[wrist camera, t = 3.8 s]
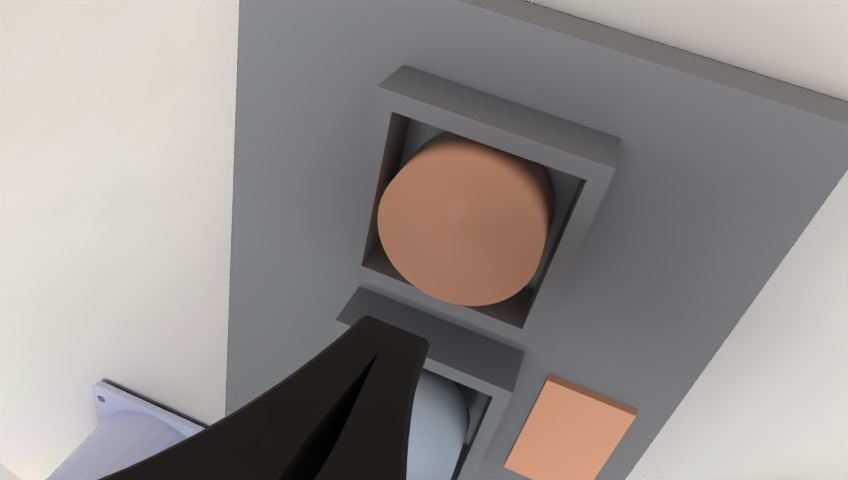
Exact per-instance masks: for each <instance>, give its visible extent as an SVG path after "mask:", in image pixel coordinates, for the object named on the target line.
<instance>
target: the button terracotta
mask: <svg viewBox="0 0 848 480" xmlns="http://www.w3.org/2000/svg"><path fill="white" fill-rule="evenodd" d="M553 213H554V199H553V192H552V188H551V185H550V182H549V180H548V177H547V175H546V173H545V171H544V170H543V168H542V167H541V165H540V164H539V163H537V162H534V161H531V160H528V159H525V158H523V157H520V156H517V155H514V154H511V153H508V152H506V151H503V150H500V149H497V148H494V147H491V146H488V145H486V144H483V143H480V142H477V141H474V140H471V139H469V138H466V137H463V136H460V135H457V134H454V133H452V132H449V131H447V132H444V133H441V134H439V135H437V136H435V137H433V138H432V139H430V140H428V141H427V142H426V143H425V144H423V145H422V146H421V147H420V148H419V149H418V150H417V151H416V153H415V154H414V155H413V156H412V157H411V159H410V160H409V161H408V162H407V163H406V165H405V166H404V167H403V168H402V169H401V170H400V172H399V173H398V174H397V175H396V176H395V178H394V179H393V180H392V181H391V182H390V184H389V185H388V187H387V188H386V190H385V192H384V194H383V196H382V198H381V201H380V205H379V209H378V231H379V236H380V240H381V243H382V246H383V248H384V250H385V253H386V254H387V256H388V258H389V260H390V261H391V263H392V264H393V265H394V267H395V268H396V270H397V271H398V272H399V273H400V274H401V275H402V276H403V277H404V278H405V279H406V280H407V281H408V282H410V283H411V284H412V285H413V286H415V287H416V288H418V289H419V290H421V291H422V292H424V293H426V294H428V295H430V296H432V297H434V298H436V299H439V300H442V301H445V302H448V303H452V304H457V305H464V306H482V305H489V304H493V303H497V302H500V301H503V300H505V299H507V298H509V297H511V296H513V295H515V294H516V293H517V292H519V291H520V290H521V289H522V288H523V287H524V286H525V285H526V284H527V283H528V282H529V281H530V279H531V278H532V277H533V275H534V273H535V271H536V269H537V267H538V264H539V261H540V258H541V255H542V252H543V249H544V245H545V242H546V239H547V236H548V233H549V229H550V226H551V223H552V219H553Z"/></svg>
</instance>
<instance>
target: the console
mask: <svg viewBox="0 0 848 480" xmlns="http://www.w3.org/2000/svg"><path fill="white" fill-rule="evenodd" d="M447 131H449V132H452V133H454V134H457V135H460V136H463V137H466V138H469V139H471V140H474V141H477V142H480V143H483V144H486V145H488V146H491V147H494V148H497V149H500V150H503V151H506V152H508V153H511V154H514V155H517V156H520V157H523V158H525V159H528V160H531V161H534V162H537V163H539V164H540V165H541V167H542V168H543V170H544V171H545V173H546V175H547V177H548V180H549V182H550V185H551V188H552V192H553V199H554V213H553V219H552V223H551V226H550V229H549V233H548V236H547V239H546V242H545V245H544V249H543V252H542V255H541V258H540V261H539V264H538V267H537V269H536V271H535V273H534V275H533V277H532V278H531V279H530V281H529V282H528V283H527V284H526V285H525V286H524V287H523V288H522V289H521V290H520V291H519V292H517V293H516V294H515V295H513V296H511V297H509V298H507V299H505V300H503V301H500V302H497V303H493V304H489V305H482V306H464V305H457V304H452V303H448V302H445V301H442V300H439V299H436V298H434V297H432V296H430V295H428V294H426V293H424V292H422V291H421V290H419V289H418V288H416V287H415V286H413V285H412V284H411V283H410V282H408V281H407V280H406V279H405V278H404V277H403V276H402V275H401V274H400V273H399V272H398V271H397V270H396V268H395V267H394V265H393V264H392V263H391V261H390V260H389V258H388V256H387V254H386V253H385V250H384V248H383V246H382V243H381V240H380V236H379V231H378V209H379V205H380V201H381V198H382V196H383V194H384V192H385V190H386V188H387V187H388V185H389V184H390V182H391V181H392V180H393V179H394V178H395V176H396V175H397V174H398V173H399V172H400V170H401V169H402V168H403V167H404V166H405V165H406V163H407V162H408V161H409V160H410V159H411V157H412V156H413V155H414V154H415V153H416V151H417V150H418V149H419V148H420V147H421V146H422V145H423V144H425V143H426V142H427V141H428V140H430V139H432V138H433V137H435V136H437V135H439V134H441V133H444V132H447ZM847 170H848V102H846V101H843V100H840V99H837V98H833V97H830V96H827V95H824V94H821V93H817V92H814V91H811V90H808V89H805V88H802V87H798V86H795V85H792V84H789V83H786V82H782V81H779V80H776V79H773V78H770V77H766V76H763V75H760V74H757V73H754V72H750V71H747V70H744V69H741V68H738V67H734V66H731V65H728V64H725V63H722V62H718V61H715V60H712V59H709V58H706V57H703V56H699V55H696V54H693V53H690V52H687V51H683V50H680V49H677V48H674V47H671V46H667V45H664V44H661V43H658V42H655V41H651V40H648V39H645V38H642V37H639V36H635V35H632V34H629V33H626V32H623V31H620V30H616V29H613V28H610V27H607V26H604V25H600V24H597V23H594V22H591V21H588V20H584V19H581V18H578V17H575V16H572V15H568V14H565V13H562V12H559V11H556V10H552V9H549V8H546V7H543V6H540V5H536V4H533V3H530V2H527V1H524V0H240V1H239V30H238V60H237V89H236V118H235V147H234V176H233V206H232V235H231V264H230V293H229V322H228V351H227V381H226V410H225V417H226V416H228V415H230V414H231V413H233V412H235V411H236V410H238V409H240V408H241V407H243V406H245V405H246V404H248V403H249V402H251V401H252V400H254V399H255V398H257V397H258V396H260V395H261V394H263V393H264V392H266V391H267V390H269V389H270V388H272V387H274V386H275V385H277V384H278V383H280V382H281V381H282V380H284V379H285V378H287V377H288V376H289V375H291V374H292V373H293V372H295V371H296V370H298V369H299V368H300V367H302V366H303V365H304V364H306V363H307V362H308V361H310V360H311V359H312V358H314V357H315V356H316V355H318V354H319V353H320V352H321V351H323V350H324V349H325V348H326V347H328V346H329V345H330V344H331V343H333V342H334V341H335V340H336V339H337V338H339V337H340V336H341V335H342V334H343V333H344V332H345V331H347V330H348V329H349V328H350V327H351V326H352V325H353V324H354V323H355V322H357V321H358V320H359V319H360V318H361V317H363V316H366V315H369V316H371V317H374V318H376V319H379V320H381V321H384V322H386V323H388V324H391V325H393V326H396V327H398V328H401V329H403V330H406V331H408V332H411V333H413V334H416V335H418V336H420V337H423V338H425V339H426V340H427V341H428V343H429V345H430V347H429V350H428V353H427V356H426V360H425V363H424V366H423V368H424V369H427V370H429V371H432V372H434V373H436V374H439V375H441V376H444V377H446V378H448V379H450V380H451V381H452V382H453V383H454V384H455V386H456V387H457V388H458V389H459V390H460V392H461V393H462V395H463V397H464V398H465V400H466V402H467V405H468V408H469V412H470V425H469V428H468V431H467V434H466V437H465V440H464V443H463V446H462V449H461V452H460V454H459V457H458V460H457V463H456V466H455V469H454V472H453V475H452V478H451V479H450V480H625V479H626V478H627V476H628V475H629V473H630V472H631V471H632V469H633V468H634V466H635V465H636V464H637V462H638V461H639V459H640V458H641V457H642V455H643V454H644V452H645V451H646V450H647V448H648V447H649V445H650V444H651V443H652V441H653V440H654V439H655V437H656V436H657V434H658V433H659V432H660V430H661V429H662V427H663V426H664V425H665V423H666V422H667V420H668V419H669V418H670V416H671V415H672V413H673V412H674V411H675V409H676V408H677V406H678V405H679V404H680V402H681V401H682V399H683V398H684V397H685V395H686V394H687V393H688V391H689V390H690V388H691V387H692V386H693V384H694V383H695V381H696V380H697V379H698V377H699V376H700V374H701V373H702V372H703V370H704V369H705V367H706V366H707V365H708V363H709V362H710V360H711V359H712V358H713V356H714V355H715V353H716V352H717V351H718V349H719V348H720V347H721V345H722V344H723V342H724V341H725V340H726V338H727V337H728V335H729V334H730V333H731V331H732V330H733V328H734V327H735V326H736V324H737V323H738V321H739V320H740V319H741V317H742V316H743V314H744V313H745V312H746V310H747V309H748V308H749V306H750V305H751V303H752V302H753V301H754V299H755V298H756V296H757V295H758V294H759V292H760V291H761V289H762V288H763V287H764V285H765V284H766V282H767V281H768V280H769V278H770V277H771V275H772V274H773V273H774V271H775V270H776V268H777V267H778V266H779V264H780V263H781V262H782V260H783V259H784V257H785V256H786V255H787V253H788V252H789V250H790V249H791V248H792V246H793V245H794V243H795V242H796V241H797V239H798V238H799V236H800V235H801V234H802V232H803V231H804V229H805V228H806V227H807V225H808V224H809V222H810V221H811V220H812V218H813V217H814V216H815V214H816V213H817V211H818V210H819V209H820V207H821V206H822V204H823V203H824V202H825V200H826V199H827V197H828V196H829V195H830V193H831V192H832V190H833V189H834V188H835V186H836V185H837V183H838V182H839V181H840V179H841V178H842V177H843V175H844V174H845V172H846V171H847Z"/></svg>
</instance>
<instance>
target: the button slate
mask: <svg viewBox="0 0 848 480" xmlns="http://www.w3.org/2000/svg"><path fill="white" fill-rule="evenodd" d="M469 425H470V412H469V408H468V405H467V402H466V400H465V398H464V397H463V395H462V393H461V392H460V390H459V389H458V388H457V387H456V386H455V384H454V383H453V382H452V381H451V380H450V379H448V378H446V377H444V376H441V375H439V374H436V373H434V372H432V371H429V370H427V369H424V368H423V369H422V372H421V376H420V379H419V382H418V385H417V388H416V391H415V396H414V402H413V408H412V416H411V425H410V434H409V443H408V456H407V476H406V480H450V479H451V478H452V475H453V472H454V469H455V466H456V463H457V460H458V457H459V454H460V452H461V449H462V446H463V443H464V440H465V437H466V434H467V431H468V428H469Z"/></svg>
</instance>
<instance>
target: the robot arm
mask: <svg viewBox="0 0 848 480" xmlns="http://www.w3.org/2000/svg"><path fill="white" fill-rule="evenodd" d="M429 347H430V345H429V343H428V341H427V340H426V339H425V338H423V337H420V336H418V335H416V334H413V333H411V332H408V331H406V330H403V329H401V328H398V327H396V326H393V325H391V324H388V323H386V322H384V321H381V320H379V319H376V318H374V317H371V316H369V315H366V316H363V317H361V318H360V319H359V320H358V321H357V322H355V323H354V324H353V325H352V326H351V327H350V328H349V329H348V330H347V331H345V332H344V333H343V334H342V335H341V336H340V337H339V338H337V339H336V340H335V341H334V342H333V343H331V344H330V345H329V346H328V347H326V348H325V349H324V350H323V351H321V352H320V353H319V354H318V355H316V356H315V357H314V358H312V359H311V360H310V361H308V362H307V363H306V364H304V365H303V366H302V367H300V368H299V369H298V370H296V371H295V372H293V373H292V374H291V375H289V376H288V377H287V378H285V379H284V380H282V381H281V382H280V383H278V384H277V385H275V386H274V387H272V388H270V389H269V390H267V391H266V392H264V393H263V394H261V395H260V396H258V397H257V398H255V399H254V400H252V401H251V402H249V403H248V404H246V405H245V406H243V407H241V408H240V409H238V410H236V411H235V412H233V413H231V414H230V415H228V416H226V417H225V418H223V419H221V420H220V421H218V422H216V423H214V424H212V425H211V426H209V427H207V428H204V427H201V426H199V425H197V424H195V423H193V422H190V421H188V420H186V419H184V418H182V417H179V416H177V415H175V414H173V413H171V412H168V411H166V410H164V409H162V408H160V407H157V406H155V405H153V404H151V403H149V402H146V401H144V400H142V399H140V398H138V397H135V396H133V395H131V394H129V393H127V392H124V391H122V390H120V389H118V388H116V387H113V386H111V385H109V384H107V383H104V382H98V383H97V384H96V385H95V386H94V387H93V391H94V397H95V403H96V409H97V416H98V422H99V427H98V428H97V429H96V430H95V431H94V432H93V433H92V434H91V435H90V436H89V437H88V438H87V439H86V440H85V441H84V442H83V443H82V444H81V445H80V446H79V447H78V448H77V449H76V450H75V451H74V452H73V453H72V454H71V455H70V456H69V457H68V458H67V459H66V460H65V461H64V462H63V463H62V464H61V465H60V466H59V467H58V468H57V469H56V470H55V471H54V472H53V473H52V474H51V475H50V476H49V477H48V478H47V479H46V480H406V476H407V456H408V443H409V434H410V425H411V416H412V408H413V402H414V396H415V391H416V388H417V385H418V382H419V379H420V376H421V372H422V369H423V366H424V363H425V360H426V356H427V353H428V350H429Z"/></svg>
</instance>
